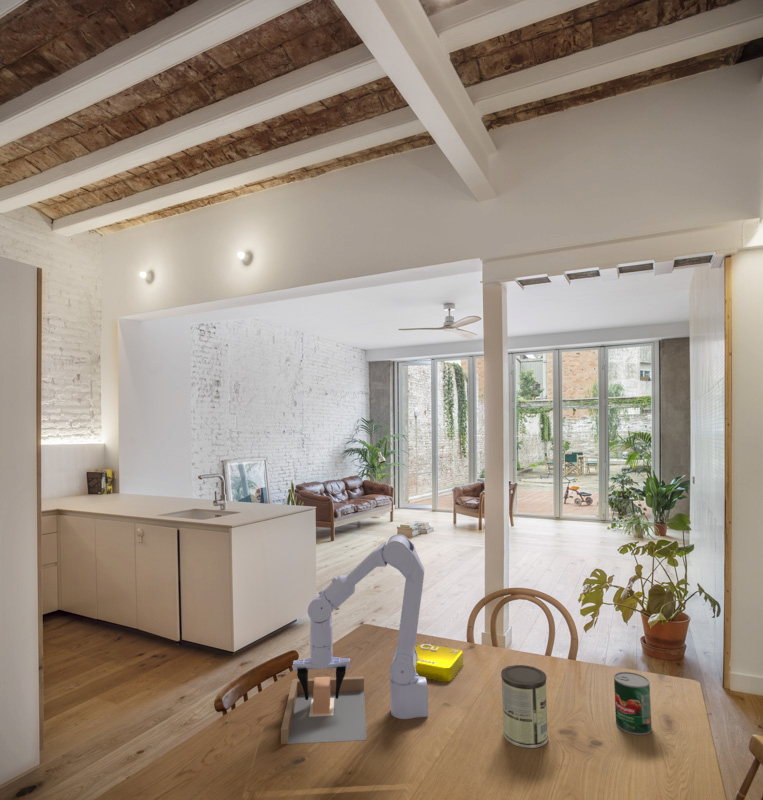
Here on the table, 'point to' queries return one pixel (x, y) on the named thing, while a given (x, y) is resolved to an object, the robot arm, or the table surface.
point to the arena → (332, 727)
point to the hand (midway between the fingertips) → (322, 697)
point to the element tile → (438, 662)
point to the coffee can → (524, 706)
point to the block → (321, 695)
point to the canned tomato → (632, 703)
